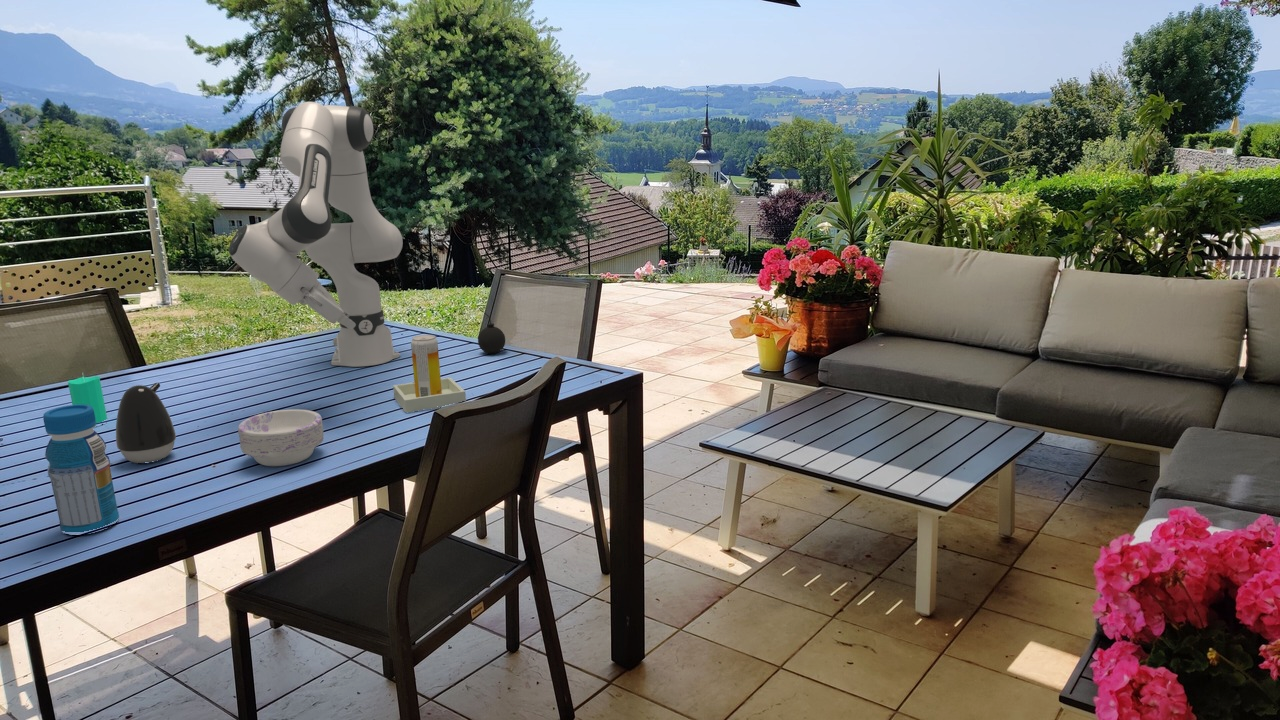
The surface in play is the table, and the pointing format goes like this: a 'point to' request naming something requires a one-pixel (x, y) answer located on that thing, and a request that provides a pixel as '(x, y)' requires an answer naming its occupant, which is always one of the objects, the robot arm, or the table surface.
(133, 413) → the pump dispenser
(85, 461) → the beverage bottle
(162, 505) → the table surface
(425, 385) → the beer can
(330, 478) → the table surface
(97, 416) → the candle
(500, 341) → the bomb
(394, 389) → the tray
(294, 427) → the paper bowls
